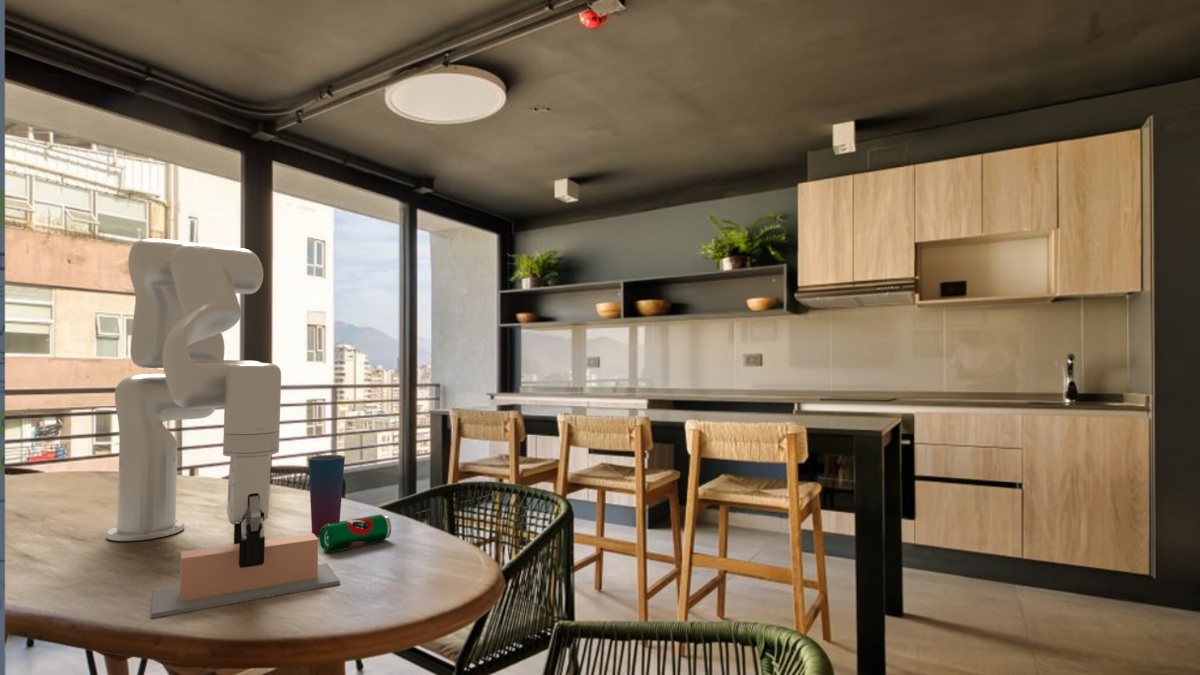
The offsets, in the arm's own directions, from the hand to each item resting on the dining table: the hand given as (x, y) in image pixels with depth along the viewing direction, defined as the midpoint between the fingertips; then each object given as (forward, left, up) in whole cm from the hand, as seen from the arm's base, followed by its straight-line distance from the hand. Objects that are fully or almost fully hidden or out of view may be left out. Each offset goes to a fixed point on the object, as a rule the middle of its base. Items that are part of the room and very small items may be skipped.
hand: (248, 556), depth 97 cm
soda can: (-13, +13, -2) cm, 18 cm away
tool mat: (0, 0, -5) cm, 5 cm away
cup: (-28, +16, -5) cm, 32 cm away
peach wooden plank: (0, 0, -4) cm, 4 cm away
